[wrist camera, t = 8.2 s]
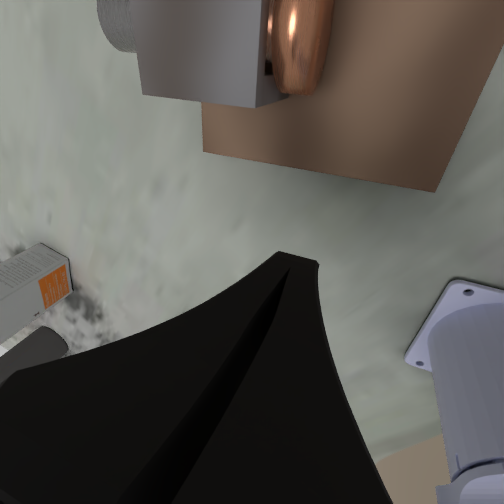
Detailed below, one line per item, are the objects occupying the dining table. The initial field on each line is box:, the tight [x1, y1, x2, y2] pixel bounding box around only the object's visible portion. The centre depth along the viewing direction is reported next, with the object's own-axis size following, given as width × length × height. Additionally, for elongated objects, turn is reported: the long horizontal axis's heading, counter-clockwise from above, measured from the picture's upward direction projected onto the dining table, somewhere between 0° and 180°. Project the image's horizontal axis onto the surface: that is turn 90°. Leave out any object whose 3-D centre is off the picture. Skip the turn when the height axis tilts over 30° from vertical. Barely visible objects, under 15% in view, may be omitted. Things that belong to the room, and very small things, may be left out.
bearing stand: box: [129, 0, 504, 193], centre depth 11 cm, size 13×12×6 cm
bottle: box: [0, 327, 68, 383], centre depth 40 cm, size 6×6×15 cm
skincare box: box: [0, 243, 73, 344], centre depth 29 cm, size 6×4×12 cm
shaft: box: [97, 0, 335, 96], centre depth 11 cm, size 9×4×4 cm, turn 87°
